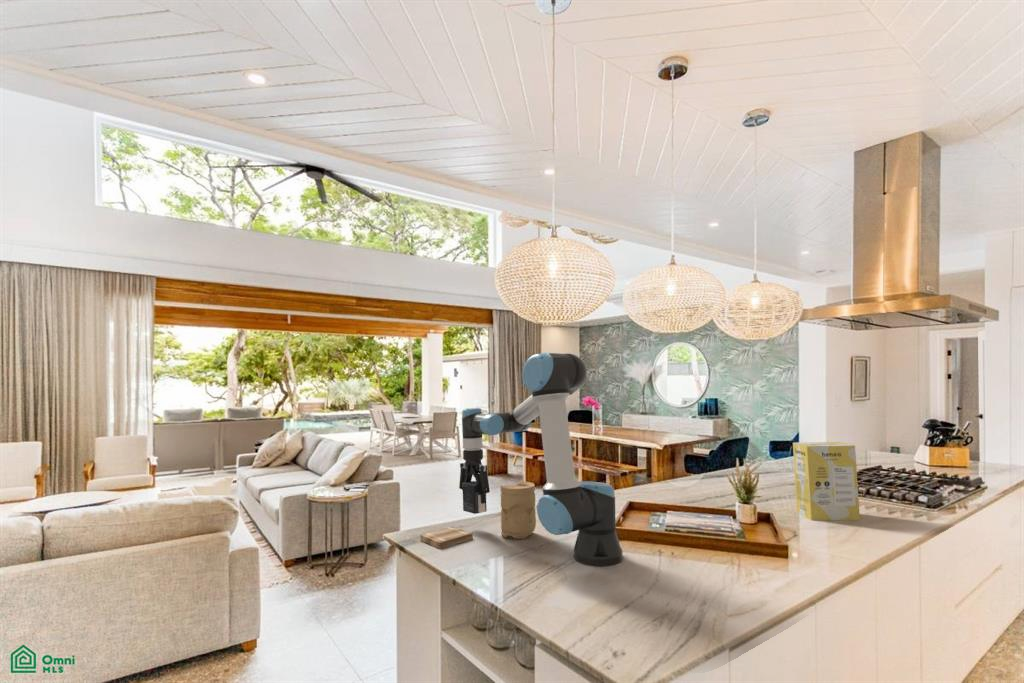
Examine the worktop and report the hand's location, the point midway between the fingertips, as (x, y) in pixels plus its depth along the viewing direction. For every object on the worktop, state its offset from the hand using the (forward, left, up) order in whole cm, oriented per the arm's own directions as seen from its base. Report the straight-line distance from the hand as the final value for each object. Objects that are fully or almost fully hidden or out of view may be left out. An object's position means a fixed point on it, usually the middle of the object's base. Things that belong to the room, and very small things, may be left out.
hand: (474, 510), depth 189 cm
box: (0, 0, -1) cm, 1 cm away
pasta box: (-87, -107, -8) cm, 138 cm away
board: (-1, +14, -7) cm, 16 cm away
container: (-16, -7, -8) cm, 19 cm away
